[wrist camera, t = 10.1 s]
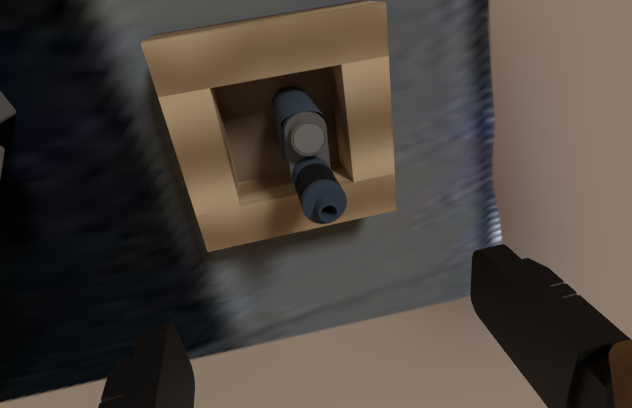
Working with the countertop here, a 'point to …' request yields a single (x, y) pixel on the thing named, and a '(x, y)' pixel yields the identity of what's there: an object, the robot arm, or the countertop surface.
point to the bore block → (258, 117)
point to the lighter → (3, 111)
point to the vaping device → (307, 155)
